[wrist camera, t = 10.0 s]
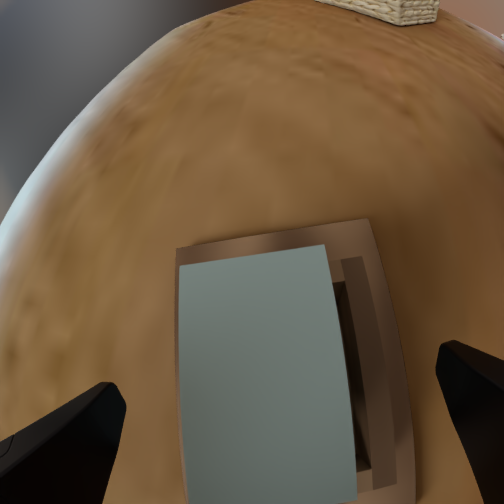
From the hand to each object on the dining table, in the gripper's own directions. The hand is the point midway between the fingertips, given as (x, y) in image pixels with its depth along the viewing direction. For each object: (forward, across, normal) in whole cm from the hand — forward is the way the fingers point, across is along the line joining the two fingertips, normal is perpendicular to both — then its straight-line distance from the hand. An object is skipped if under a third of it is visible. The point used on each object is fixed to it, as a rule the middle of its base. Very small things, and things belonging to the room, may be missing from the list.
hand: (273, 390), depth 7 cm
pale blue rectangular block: (+6, 0, +5) cm, 8 cm away
